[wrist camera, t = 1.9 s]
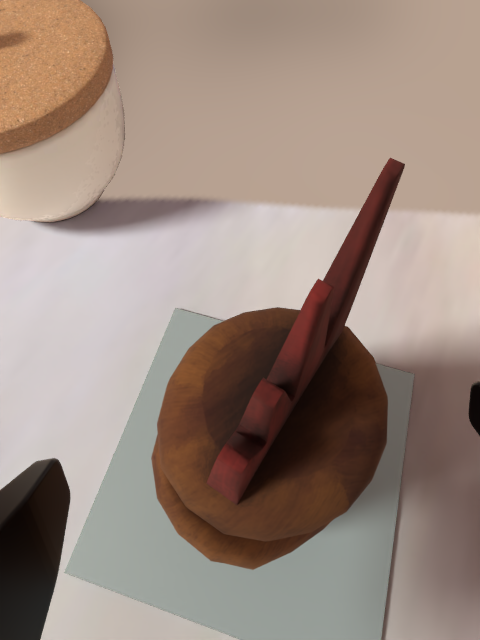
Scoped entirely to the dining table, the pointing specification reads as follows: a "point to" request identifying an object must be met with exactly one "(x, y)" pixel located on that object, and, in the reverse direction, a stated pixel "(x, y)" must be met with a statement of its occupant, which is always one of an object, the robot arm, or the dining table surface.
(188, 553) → the tile
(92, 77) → the lidded jar
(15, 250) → the dining table surface
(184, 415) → the wooden figurine
